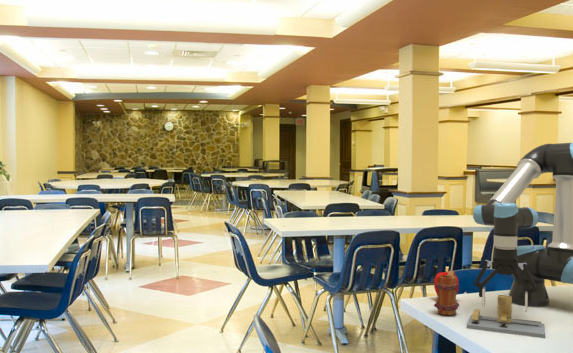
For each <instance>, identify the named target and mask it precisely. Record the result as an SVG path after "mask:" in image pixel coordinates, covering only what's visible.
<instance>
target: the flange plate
mask: <svg viewBox="0 0 573 353" xmlns="http://www.w3.org/2000/svg"><path fill="white" fill-rule="evenodd" d="M545 328H546V326H545V323H543V322H541V327H539V325H531V324H522V323H514V322H511V324H510V323H505V326H503V325H502V322H497V320H489V319H480V318H479V319H478V320H477V323H474V320H473V319H472V314H470V316H469V318H468V321H467V322H466V329H471V330H477V331H478V330H480V331H486V332H492V333H493V332H494V333H502V334H511V335H517V334H518V335H517V336H525V337H533V338H540V339H541V338H543V339H545V338H546V329H545Z"/></svg>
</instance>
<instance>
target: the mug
mask: <svg viewBox="0 0 573 353" xmlns="http://www.w3.org/2000/svg"><path fill="white" fill-rule="evenodd" d="M447 272H448V274H447V275H441V276H440V275H439V276H438V282H437V284H436V285H435V287H436V288H438V295H437V301H436V302H435V303H434V305H433V306H434V308H436V309H437V313H438V314H440V315H443V316H454V315H456V313H457V309H459V308H458V307H460V303H458V302H457V295H456V289H457V288H458V286H459V287H460V284H459V285H458V284H457V283H456V276H457V275H456V272H455V271H454V270H448V271H447Z"/></svg>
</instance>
